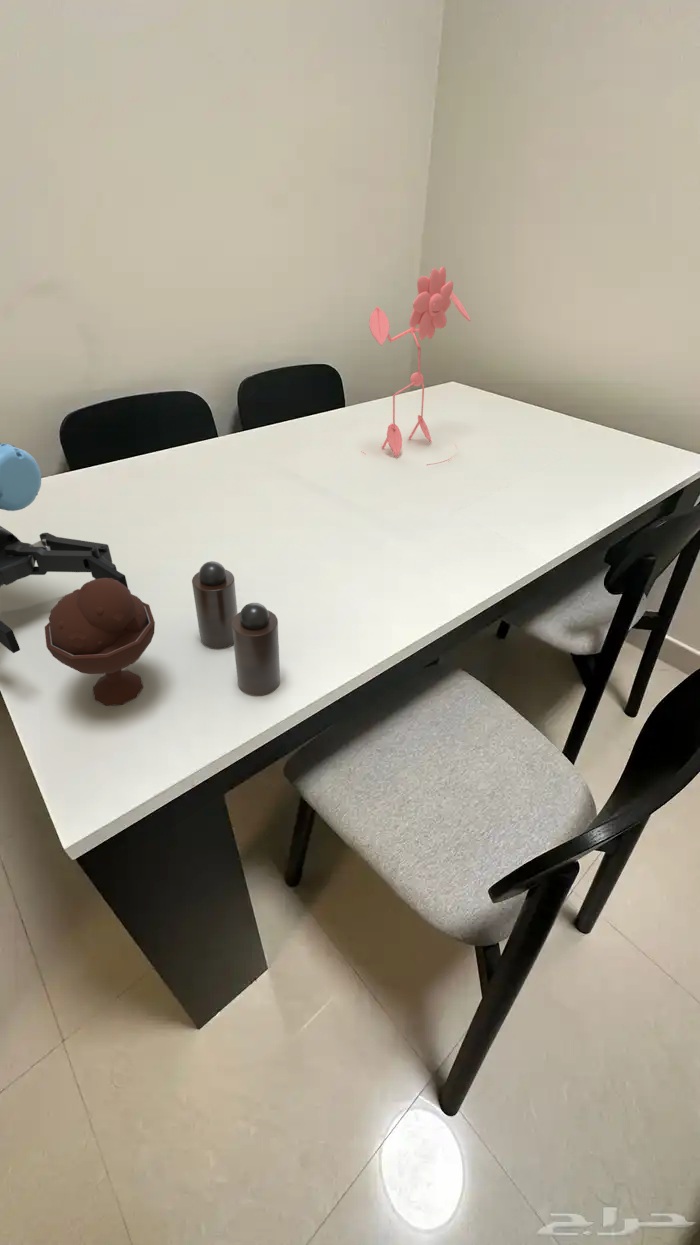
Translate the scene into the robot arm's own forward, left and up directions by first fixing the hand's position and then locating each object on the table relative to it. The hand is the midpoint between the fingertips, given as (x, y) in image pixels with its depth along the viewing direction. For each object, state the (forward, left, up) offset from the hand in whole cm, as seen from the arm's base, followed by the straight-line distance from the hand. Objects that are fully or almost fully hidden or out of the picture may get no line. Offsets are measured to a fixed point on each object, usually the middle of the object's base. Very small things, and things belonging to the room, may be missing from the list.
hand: (72, 612), depth 65 cm
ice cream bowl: (+1, -6, -8) cm, 10 cm away
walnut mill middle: (+15, -4, -8) cm, 18 cm away
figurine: (+80, +29, -8) cm, 86 cm away
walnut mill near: (+15, -14, -8) cm, 22 cm away
